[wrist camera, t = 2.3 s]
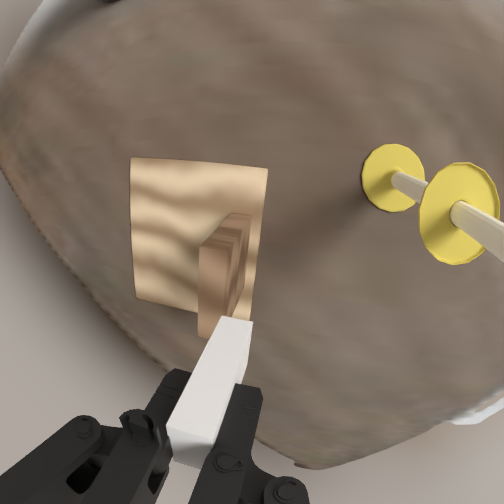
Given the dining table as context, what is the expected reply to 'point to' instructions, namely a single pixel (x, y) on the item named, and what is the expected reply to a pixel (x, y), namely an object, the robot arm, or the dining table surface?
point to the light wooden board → (188, 224)
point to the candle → (438, 202)
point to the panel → (222, 271)
